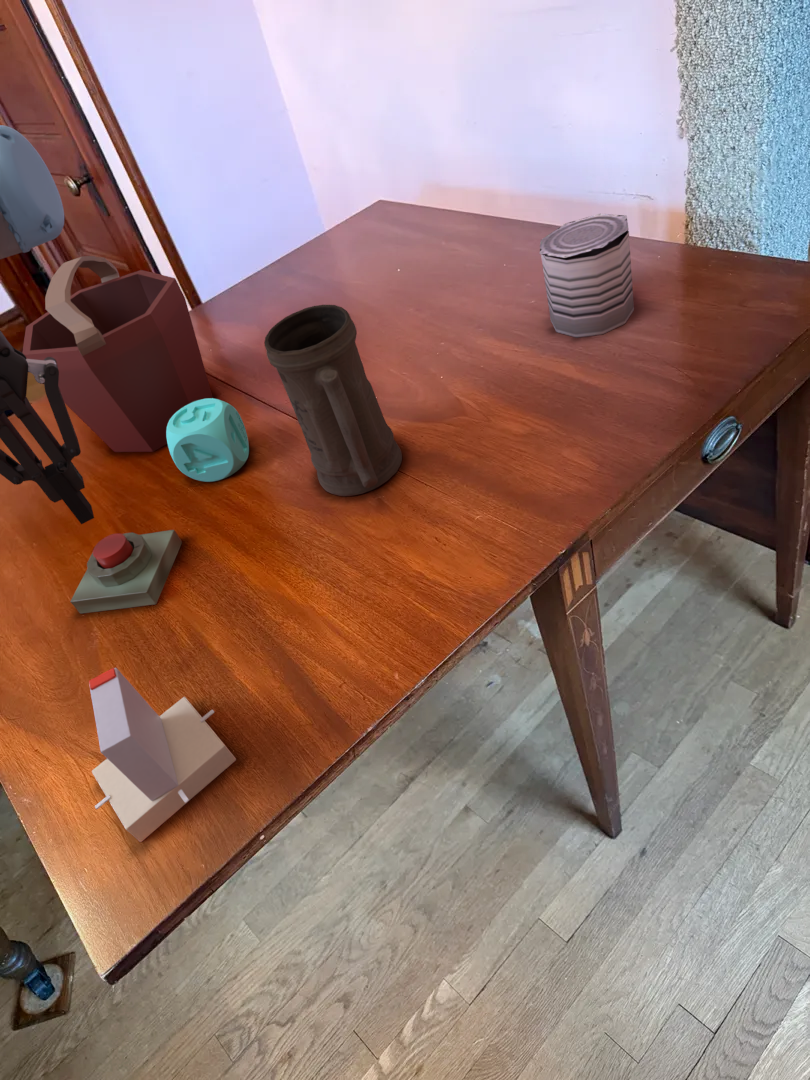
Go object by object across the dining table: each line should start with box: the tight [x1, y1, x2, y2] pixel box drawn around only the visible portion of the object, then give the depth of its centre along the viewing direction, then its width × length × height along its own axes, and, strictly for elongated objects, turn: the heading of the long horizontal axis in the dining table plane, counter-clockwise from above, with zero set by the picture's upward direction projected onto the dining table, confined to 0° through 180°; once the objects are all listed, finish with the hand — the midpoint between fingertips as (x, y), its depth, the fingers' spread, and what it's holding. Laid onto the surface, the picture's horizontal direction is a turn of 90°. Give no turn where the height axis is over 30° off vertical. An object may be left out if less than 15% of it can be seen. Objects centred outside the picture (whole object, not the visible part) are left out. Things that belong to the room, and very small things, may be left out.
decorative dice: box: [166, 397, 250, 483], centre depth 99 cm, size 8×8×8 cm
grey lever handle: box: [88, 667, 178, 801], centre depth 62 cm, size 8×2×8 cm, turn 25°
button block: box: [69, 529, 183, 614], centre depth 87 cm, size 10×10×4 cm
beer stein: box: [263, 304, 403, 497], centre depth 84 cm, size 15×11×20 cm
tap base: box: [91, 696, 237, 843], centre depth 66 cm, size 12×12×3 cm
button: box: [92, 532, 133, 569], centre depth 86 cm, size 4×4×2 cm
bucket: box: [21, 255, 214, 453], centre depth 107 cm, size 24×22×25 cm
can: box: [539, 213, 635, 338], centre depth 99 cm, size 11×11×12 cm
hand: (86, 514), depth 82 cm, fingers closed
